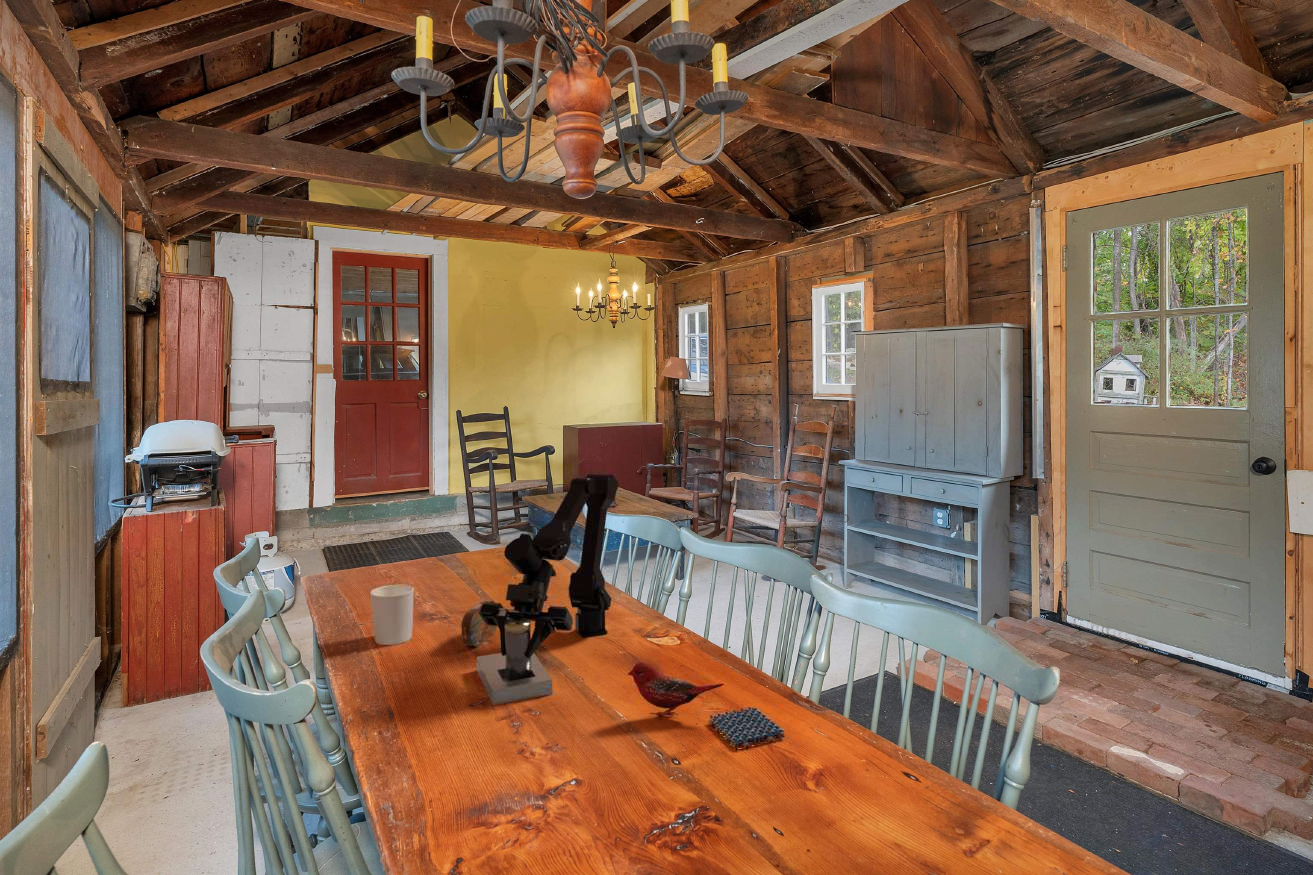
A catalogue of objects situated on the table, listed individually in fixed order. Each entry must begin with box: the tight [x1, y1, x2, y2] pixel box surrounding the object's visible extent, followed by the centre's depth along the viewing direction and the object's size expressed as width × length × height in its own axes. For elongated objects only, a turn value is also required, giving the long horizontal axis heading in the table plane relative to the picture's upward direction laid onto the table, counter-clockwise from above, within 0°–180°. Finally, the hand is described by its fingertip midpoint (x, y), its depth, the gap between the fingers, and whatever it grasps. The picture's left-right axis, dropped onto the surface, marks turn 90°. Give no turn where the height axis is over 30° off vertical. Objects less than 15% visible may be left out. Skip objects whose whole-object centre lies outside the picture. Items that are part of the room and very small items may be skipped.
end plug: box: [505, 618, 532, 682], centre depth 136 cm, size 5×5×13 cm
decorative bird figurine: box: [627, 662, 725, 717], centre depth 124 cm, size 3×18×10 cm, turn 88°
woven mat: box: [707, 706, 787, 749], centre depth 119 cm, size 10×11×2 cm
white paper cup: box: [369, 584, 415, 646], centre depth 163 cm, size 10×10×12 cm
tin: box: [460, 600, 498, 647], centre depth 163 cm, size 15×3×8 cm, turn 168°
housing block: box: [476, 652, 554, 706], centre depth 139 cm, size 12×18×3 cm, turn 24°
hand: (515, 655), depth 135 cm, fingers closed on end plug, 5 cm apart
